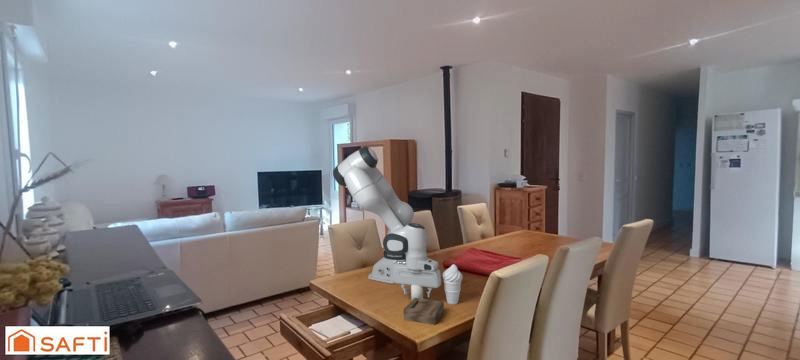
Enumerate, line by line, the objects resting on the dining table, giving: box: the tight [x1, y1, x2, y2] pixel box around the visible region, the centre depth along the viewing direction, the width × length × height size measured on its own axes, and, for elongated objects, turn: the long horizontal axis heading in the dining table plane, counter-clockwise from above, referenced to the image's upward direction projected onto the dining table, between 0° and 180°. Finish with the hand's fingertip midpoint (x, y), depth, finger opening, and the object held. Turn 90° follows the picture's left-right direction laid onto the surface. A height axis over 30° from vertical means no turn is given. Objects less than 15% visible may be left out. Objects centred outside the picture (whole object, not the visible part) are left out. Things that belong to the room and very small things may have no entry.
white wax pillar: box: [410, 285, 424, 302], centre depth 152 cm, size 5×5×8 cm
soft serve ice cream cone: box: [441, 263, 464, 305], centre depth 151 cm, size 8×8×16 cm
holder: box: [403, 298, 445, 325], centre depth 139 cm, size 12×12×4 cm
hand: (417, 295), depth 152 cm, fingers open, 8 cm apart
